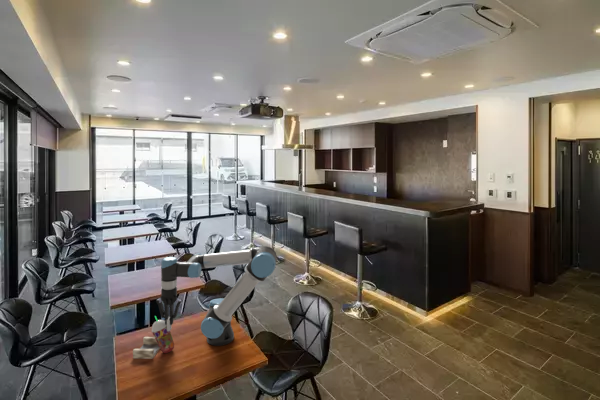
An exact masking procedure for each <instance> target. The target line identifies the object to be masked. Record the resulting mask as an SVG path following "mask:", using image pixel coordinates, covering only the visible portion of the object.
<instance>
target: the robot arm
mask: <svg viewBox="0 0 600 400" xmlns="http://www.w3.org/2000/svg"><path fill="white" fill-rule="evenodd" d="M277 256H278V255H277V252H276V251H275V250H274V248H272V247H270V246H267V245H262V246H261V245H260V246H256V247H251V248H250V249H244V250H236V251H235V250H234V251H225V252H216V253H208V254H202V253H195V254H193V255H192V256H191V257H190V258H189V259H188V260H187V261H178V260H177V259H178V258H177V257H175V256H167V257H164V258H162V260H161V266H160V268H161V269H160V270H161V271H160V273H161V274H160V276H161V277H160V278H161V279H160V280H161V281H160V282H161V283H160V286H161V287H160V289H161V291H160V292H161V295H160V297H159V298H157V299H156V301H155V302H156V304H157V305H158V310H159V314H160V318H161V319H163V318H164V321H165V325H167V331H170V332H171V330H172V325H173V324H174V319H176V318H177V316H178V313H179V309H180V306H181V303H182V302H183V300H182V299H180V298H179V297H178V295H177V294H178V287H177V286H178V278H190V279H195V278H196V279H197V278H199V277H200V275H201V273H202V269H209V268H210V269H211V268H219V267H228V266H231V267H232V266H238V265H246V266H245V269H246V271H245V272H244V273H243V275H241V277H240V278H239V279H238V281H237V282H236V283H235V284H234V286H233V287H232V288H231V289H230V290H229V292H228V293H227V294H226V296H225V297H224V298H223V297H222V298H221V297H220V298H214V299H211V300H210V301H209V305H208V306H209V310H208V311H207V313H206V315H205V316H204V317H203V320H202V321H201V324H200V331H201V333H202V334H203V336H205V337H206V342H207V343H208V344H209V345H211V346H214V347H215V346H216V347H218V346H219V347H221V346H226V345H228V344H230V343H232V342H233V341H234V338H235V333H234V330H233V328H232V327H233V326H232V324H231V323H232V320H233V314H234V313H235V312H236V311H237V309H238V308H239V307H240V306H241V304H242V303H243V302H244V301H245V300H246V298H247V297H248V296H249V295H250V293H252V291H253V290H254V289H255V287H256V286H257V285H258V284H259V283H260V282H261V283H262V282H265V280H266V279H267V278H268V277H269V276H271V275H272V274H273V272H274V271H275V269H276V266H277V259H278V258H277ZM175 303H176V305H175ZM174 307H175V309H174Z"/></svg>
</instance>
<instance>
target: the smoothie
mask: <svg viewBox="0 0 600 400" xmlns="http://www.w3.org/2000/svg"><path fill="white" fill-rule="evenodd" d="M154 318H155V320H156V321H154V322H153V324H152V326H151V333H152V335H153V337H155V339H156V341H157V343H158V345H159V347H160V349H159V350H160V351H161V352H162V353H163V354H168V353H170V352H172V351H173V350H174V349H175V342H174V339H173V336H172V332H171V330H170V331H167V325H165V319H158V318H157V316H156V315H154Z"/></svg>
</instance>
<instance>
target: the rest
mask: <svg viewBox="0 0 600 400" xmlns="http://www.w3.org/2000/svg"><path fill="white" fill-rule="evenodd" d="M142 339H143V340H142V341H143V344H142V345H141V347H140V348H133V350H132V359H146V360H147V359H149V360H151V359H154V358H155V356H156V355H157V354H158V352H159V351H160V350H161V349H160V347H159V345H158V343H157V341H156V339H155V337H154V336H144V337H142Z"/></svg>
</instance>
